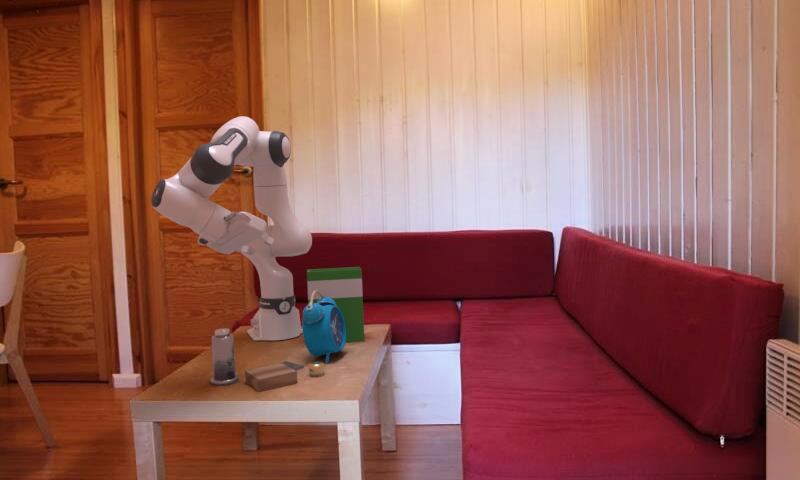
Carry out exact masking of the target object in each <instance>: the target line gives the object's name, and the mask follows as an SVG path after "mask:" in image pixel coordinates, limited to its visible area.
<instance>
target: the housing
mask: <svg viewBox="0 0 800 480" xmlns="http://www.w3.org/2000/svg"><path fill="white" fill-rule="evenodd" d="M234 340H235V339H234V334H233V333H231V332H230V328H228V327H227V328H226V327H224V328H218V329H215V330H214V335H212V336H211V350H212V351H211V352H212V368H213V369H212V370H213V377H211V378H210V384H211V385H212V386H215V387H221V386H222V387H224V386H229V385H230V386H231V385H233V384H236V383H238V382H239V381H240V375H239V374H237V373H236V359H235V341H234Z"/></svg>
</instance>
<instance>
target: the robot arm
mask: <svg viewBox="0 0 800 480" xmlns="http://www.w3.org/2000/svg"><path fill="white" fill-rule="evenodd" d="M291 151H292V147H291V141H290V138H289V137H288V135H286V133H285V132H282V131H278V130H273V131H267V130H266V131H265V130H260V128H259V126H258V124H257V123H256V121H255V120H254V119H252V118H250V117H248V116H245V115H244V116H241V115H240V116H237V117H235V118H232V119H230V120H229V121H227V122H226V123H224V124H223V125H221V127H219V129H218V130H217V131H216V132H215V133H214V135H213V136H212V137H211V140H210V142H209V143H203V144H201V145H198V147H197V148H196V149H195V150H194V153H193V154H192V155H191V157H190V158H189V159H188V161H186V163H184V165H183V166H182V168H180V170H179V171H178V172H176V174H174V175H173V176H171V177H169V178H163V179H160V181H158V183H157V184H156V186H155V187H154V189H153V192H152V194H151V200H150V201H151V206H152V208H153V209H154V210H155V211H156V212H158V213H159V214H160V215H162V216H163V217H165V218H166V219H168V220H170V221H172V222H174V223H175V224H178V225H180V226H183V227H187V228H189V229H190V230H192V231H193V232H194V233H195V234H197V235H199V236H198V239H197V244H199V245H201V246H206V247H208V248H210V249H212V250H214V251H216V252H218V253H221V254H224V255H230V254H232V253H234V252H237V253H241V254H242V255H243V256H245V257H246V258H248V260H250V262H252V264H253V266H254V267H255V269H256V271H257V274H258V277H259V283H260V284H259V285H260V295H261V296H260V298H259V306H258V307H259V309H258V310H257V312H256V313H255V314H254V316H253V318H252V319H250V325H251V326H253V327H252V328H249V329H247V334H248V335H249V337H250V339H252V341H282V340H284V341H285V340H289V339H293V338H297V337H299V336H300V335H301V334H303V329H302V325H301V318H300V315H301V314H300V310H299V309H298V308H297V307H296V306H295V305H296V297H295V296H296V295H295V294H294V277H293V274H292V272H291V271H290V270H289V269H288V268H286V267H284V266H282V265H280V264H279V263H278V262H277V260H276V258H278V257H295V256H296V257H297V256H301V255H305V254H307V253H308V252H309V251H310V249H311V248H312V245H313V236H312V233H311V231H310V229H308V228H307V227H306V226H305V225H304V224H302V223H301V222H300V221H299V220H298V219H297V218H296V216H295V215H294V214H293V211H292V209H291V206H290V200H289V195H288V182H287V174H286V169H285V164H286V163H287V162H288V160H289V159H290V157H291V153H292V152H291ZM235 167H253V190H254V191H253V192H254V194H253V195H254V204H255V208H256V210H257V211H258V212H259V213H261V214H262V215H265V217H266V216H267V217H269V219H271V221H272V222H273V225H268V223H267V222H266V220H264V219H262V218H260V217H258V216H256V215H253V214H252V213H250V212H246V211H230V210H229V209H227V208H226V207H223V206H222V205H220V204H217V202H215V201H210V197H211V196H212V195H213V194H214V193H215V192H216V190H218V188H219V187H221V186H222V184H223V183H224V182H225V181H227V180H228V179H229V178H230V177H231V176H232V175H233V173H234V170H235Z"/></svg>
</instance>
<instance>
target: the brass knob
mask: <svg viewBox="0 0 800 480" xmlns="http://www.w3.org/2000/svg"><path fill="white" fill-rule="evenodd" d="M308 374H309V375H308V376H309V377H312V378H318V377H319V378H320V377H323V376H324V375H325V363H324V362H323V361H312V362H309V363H308Z"/></svg>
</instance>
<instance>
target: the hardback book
mask: <svg viewBox="0 0 800 480" xmlns="http://www.w3.org/2000/svg"><path fill="white" fill-rule="evenodd" d="M306 270H307V271H306V281H307V282H306V283H307V305H309V303H310V300H311V295H312V293H313V291H315V290H317V291H319V292H320V293H321V294H322V295H323V296H327V297H329V298H331V299H333V300H334V301H335V303H336V306H337V307H338V308H339V309H340V311H341V313H342V315H343V318H344V322H345V328H346V342H345V344H349V343H350V344H351V343H364V342H365V321H364V319H365V318H364V301H363V300H364V299H363V298H364V297H363V270H362V268H361V267H360V266H352V267H350V266H349V267H335V268H334V267H333V268H330V267H329V268H314V269H311V268H310V269H306ZM321 298H323V297H321V296H320V295H319V294H318V293H317V292H315V294H314V297H313V303H317V301H318V300H319V299H321Z"/></svg>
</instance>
